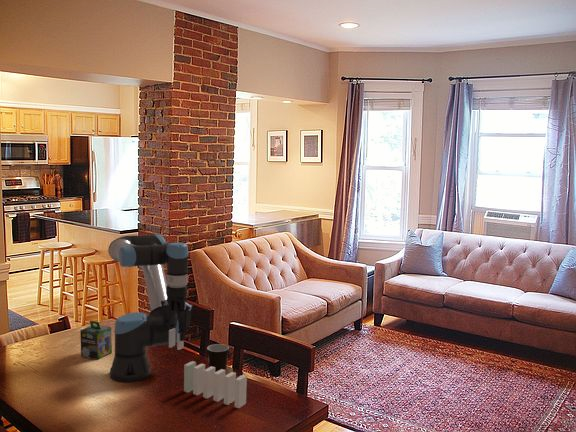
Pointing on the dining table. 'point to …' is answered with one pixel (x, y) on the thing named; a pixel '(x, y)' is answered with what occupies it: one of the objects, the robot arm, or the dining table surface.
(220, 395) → the tile
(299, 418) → the dining table surface
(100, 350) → the chalk box
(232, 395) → the tile
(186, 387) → the end tile
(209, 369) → the tile
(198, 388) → the tile
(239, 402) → the grey rectangular block
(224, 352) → the coffee mug
